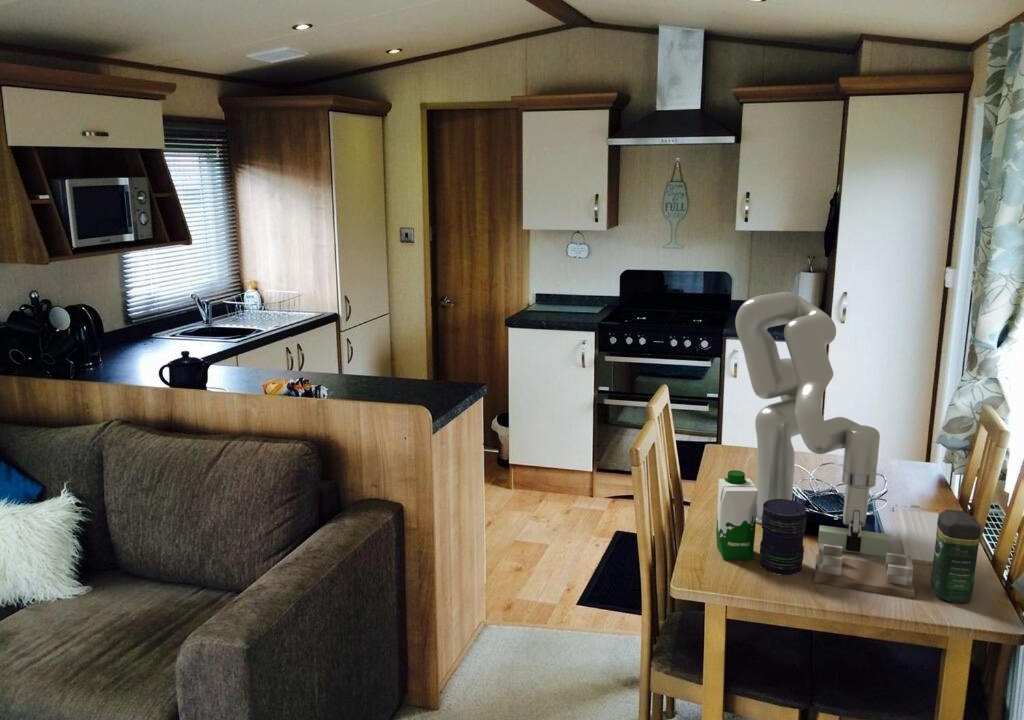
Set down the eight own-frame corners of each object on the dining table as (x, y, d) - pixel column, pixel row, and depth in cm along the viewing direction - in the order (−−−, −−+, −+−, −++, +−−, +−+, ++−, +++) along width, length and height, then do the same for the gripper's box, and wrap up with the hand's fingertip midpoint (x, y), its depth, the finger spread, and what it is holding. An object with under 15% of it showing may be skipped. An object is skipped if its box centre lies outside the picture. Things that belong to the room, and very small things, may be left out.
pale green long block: (817, 547, 211) (819, 530, 210) (818, 541, 214) (819, 525, 213) (888, 557, 206) (889, 540, 205) (887, 551, 209) (889, 534, 208)
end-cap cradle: (814, 582, 194) (816, 560, 193) (815, 559, 205) (817, 538, 203) (914, 598, 187) (916, 575, 185) (910, 573, 198) (912, 551, 196)
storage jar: (751, 567, 201) (755, 508, 198) (769, 552, 209) (773, 495, 205) (792, 580, 195) (797, 519, 192) (809, 564, 202) (813, 505, 199)
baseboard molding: (899, 563, 204) (955, 570, 200) (900, 552, 203) (956, 559, 200) (888, 512, 233) (937, 518, 229) (889, 502, 232) (938, 508, 228)
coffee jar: (976, 606, 183) (986, 526, 179) (936, 602, 185) (945, 522, 181) (964, 584, 192) (974, 508, 188) (926, 581, 194) (935, 504, 190)
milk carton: (747, 545, 213) (752, 469, 208) (757, 561, 204) (762, 483, 199) (712, 545, 213) (715, 469, 208) (720, 562, 204) (724, 483, 199)
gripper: (842, 463, 214) (836, 531, 219) (842, 487, 199) (836, 559, 204) (874, 467, 212) (868, 535, 216) (877, 491, 197) (870, 564, 201)
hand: (852, 546), depth 210 cm, fingers closed on pale green long block, 3 cm apart
